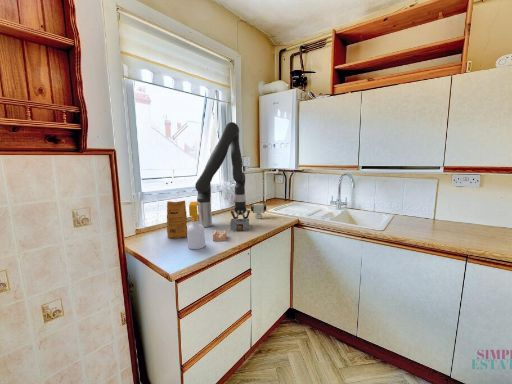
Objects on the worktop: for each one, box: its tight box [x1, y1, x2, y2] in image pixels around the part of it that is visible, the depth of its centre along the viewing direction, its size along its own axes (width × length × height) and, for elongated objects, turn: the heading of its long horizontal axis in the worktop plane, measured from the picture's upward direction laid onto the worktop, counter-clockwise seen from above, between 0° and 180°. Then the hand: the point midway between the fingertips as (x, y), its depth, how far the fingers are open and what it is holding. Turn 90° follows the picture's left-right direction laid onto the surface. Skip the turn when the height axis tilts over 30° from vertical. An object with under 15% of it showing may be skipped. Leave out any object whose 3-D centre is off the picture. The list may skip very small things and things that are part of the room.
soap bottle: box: [186, 201, 206, 250], centre depth 124 cm, size 9×9×25 cm
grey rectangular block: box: [229, 218, 250, 232], centre depth 154 cm, size 7×12×6 cm, turn 91°
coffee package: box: [166, 200, 188, 239], centre depth 142 cm, size 10×12×22 cm
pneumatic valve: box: [250, 202, 267, 220], centre depth 179 cm, size 6×12×12 cm, turn 91°
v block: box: [212, 229, 227, 242], centre depth 137 cm, size 7×7×4 cm
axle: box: [237, 224, 243, 232], centre depth 157 cm, size 16×4×4 cm, turn 1°
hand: (240, 224), depth 164 cm, fingers open, 3 cm apart
